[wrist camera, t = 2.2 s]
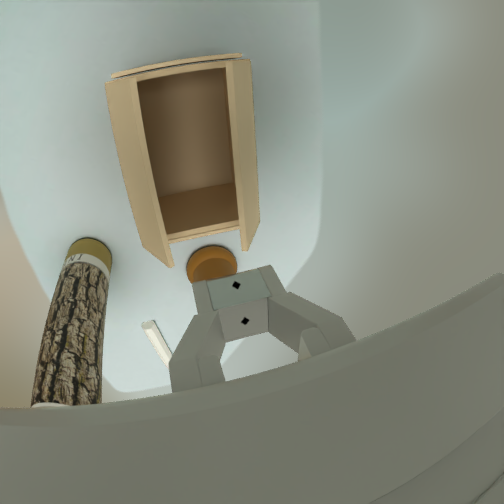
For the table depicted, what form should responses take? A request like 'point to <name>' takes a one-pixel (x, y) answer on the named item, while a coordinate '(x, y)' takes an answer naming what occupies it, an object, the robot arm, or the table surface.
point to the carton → (189, 144)
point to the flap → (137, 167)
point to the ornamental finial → (211, 264)
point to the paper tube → (75, 330)
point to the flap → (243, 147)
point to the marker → (157, 341)
